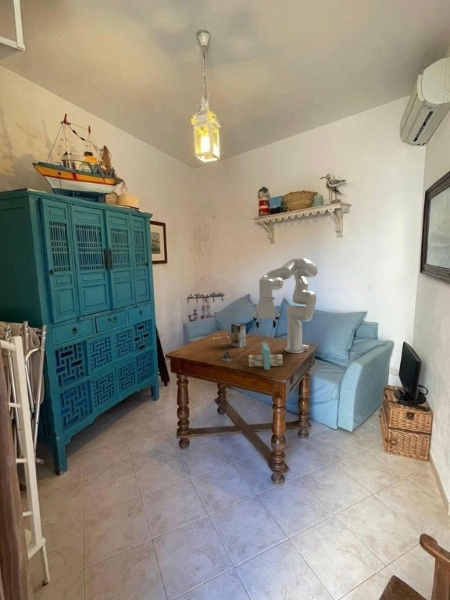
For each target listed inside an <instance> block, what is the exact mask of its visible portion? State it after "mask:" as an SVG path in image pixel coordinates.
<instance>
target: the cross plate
mask: <svg viewBox="0 0 450 600" xmlns="http://www.w3.org/2000/svg"><path fill="white" fill-rule="evenodd" d="M270 355H271V349H270V347H269V345H268V343H267V342H261V356H262V360H263V361H264V366H263V368H264V370H265V371H267V370H268V371H269V370H271V366H270Z"/></svg>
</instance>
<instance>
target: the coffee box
mask: <svg viewBox="0 0 450 600" xmlns="http://www.w3.org/2000/svg"><path fill="white" fill-rule="evenodd" d="M230 328H231V329H230V330H231V331H230V332H231V333H230V334H231V338H230V339H231V346H233V347H236V348H243V347H246V346H247V345H246V344H247V343H246V342H247V341H246V337H247V335H246V333H247V332H246V331H247V330H246V328H247V326H246V324H244V323H238V322H236V323H231V326H230Z"/></svg>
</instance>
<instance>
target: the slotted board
mask: <svg viewBox="0 0 450 600" xmlns="http://www.w3.org/2000/svg"><path fill="white" fill-rule="evenodd" d="M283 359H284V358H283V354H280V353H279V354H270V367H277V366H279V367H280V366H283V362H284V361H283ZM248 366H249V367H264V361H263V360H262V354H249V355H248Z"/></svg>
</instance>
